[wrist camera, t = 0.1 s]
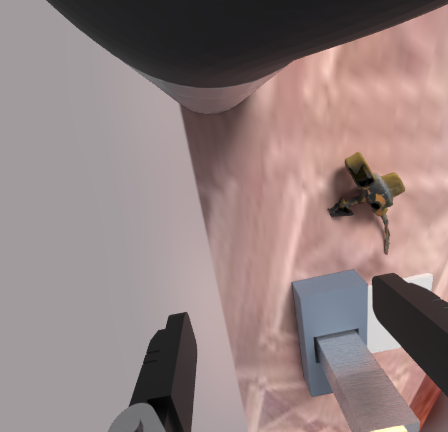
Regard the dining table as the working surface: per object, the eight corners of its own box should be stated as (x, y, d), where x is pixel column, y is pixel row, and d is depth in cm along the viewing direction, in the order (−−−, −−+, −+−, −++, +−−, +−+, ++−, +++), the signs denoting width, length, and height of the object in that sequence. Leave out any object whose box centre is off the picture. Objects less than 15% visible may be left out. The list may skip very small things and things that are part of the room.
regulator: (408, 235, 30) (385, 131, 23) (423, 259, 27) (403, 147, 20) (345, 251, 34) (308, 163, 26) (353, 274, 31) (313, 182, 23)
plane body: (291, 282, 31) (300, 297, 28) (353, 269, 31) (368, 283, 28) (303, 376, 37) (311, 397, 34) (354, 366, 37) (366, 386, 34)
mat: (361, 286, 32) (363, 289, 31) (429, 272, 32) (433, 275, 31) (361, 351, 36) (363, 354, 35) (420, 339, 36) (424, 342, 35)
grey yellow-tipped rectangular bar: (307, 320, 33) (372, 449, 20) (343, 313, 33) (431, 438, 20) (309, 341, 35) (371, 475, 21) (343, 334, 35) (427, 464, 21)
